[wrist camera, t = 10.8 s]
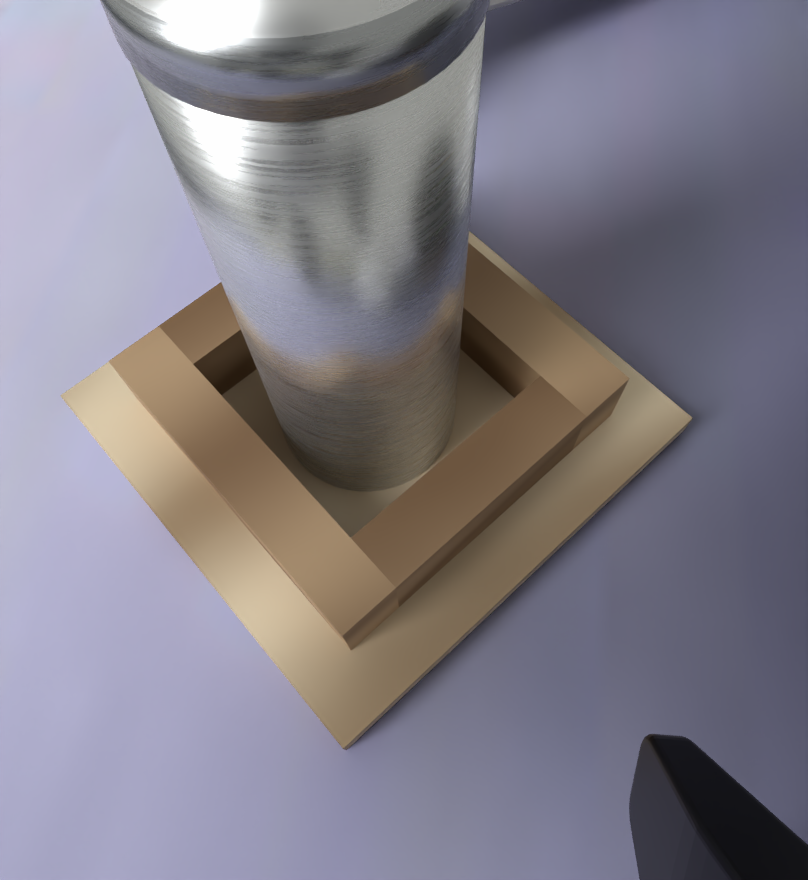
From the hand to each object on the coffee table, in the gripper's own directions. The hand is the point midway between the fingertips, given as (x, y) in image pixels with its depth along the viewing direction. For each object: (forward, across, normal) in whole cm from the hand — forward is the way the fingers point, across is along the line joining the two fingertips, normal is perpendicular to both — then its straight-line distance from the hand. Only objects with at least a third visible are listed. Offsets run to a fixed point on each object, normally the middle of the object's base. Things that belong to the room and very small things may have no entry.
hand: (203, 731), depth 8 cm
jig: (+14, -1, +1) cm, 14 cm away
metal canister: (+13, -1, 0) cm, 13 cm away
